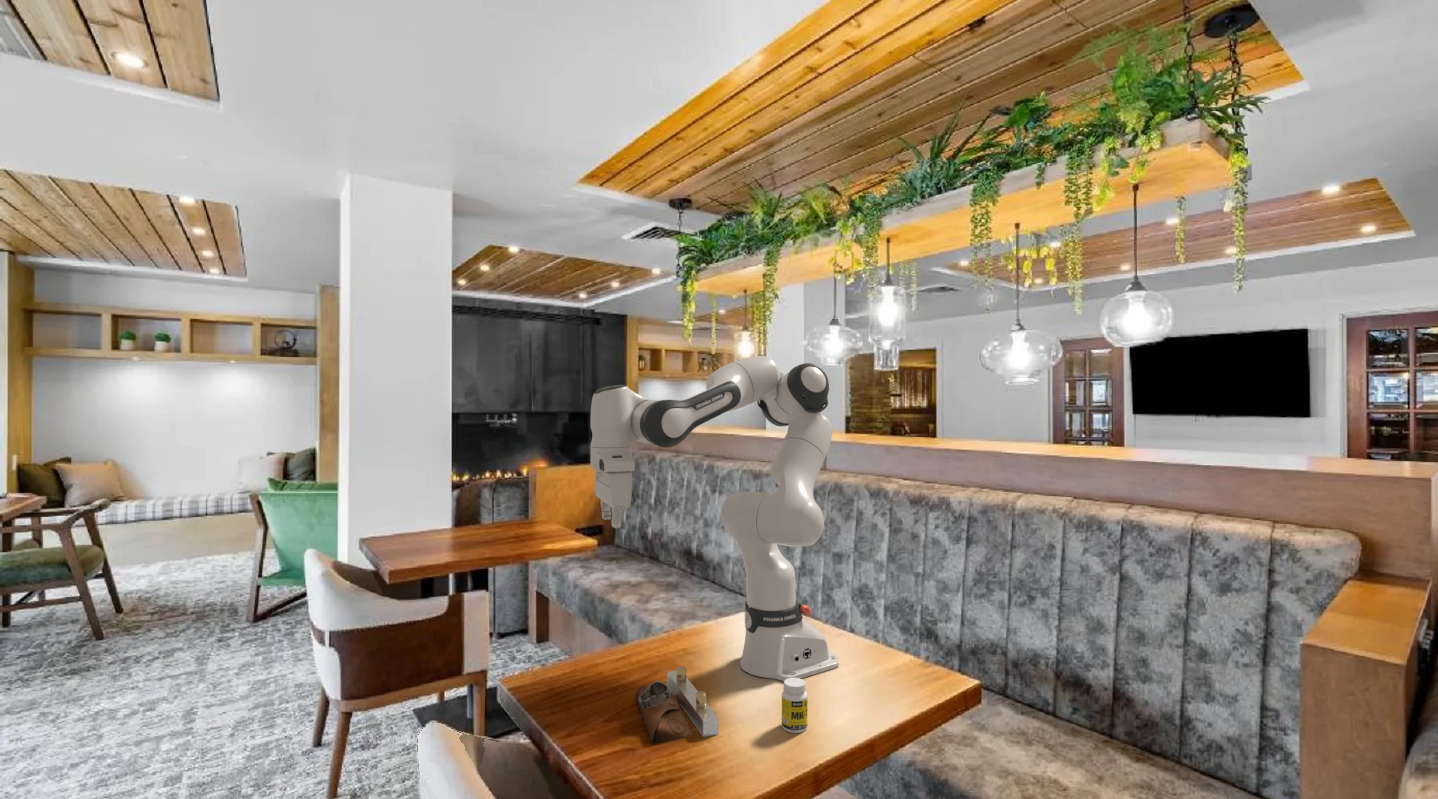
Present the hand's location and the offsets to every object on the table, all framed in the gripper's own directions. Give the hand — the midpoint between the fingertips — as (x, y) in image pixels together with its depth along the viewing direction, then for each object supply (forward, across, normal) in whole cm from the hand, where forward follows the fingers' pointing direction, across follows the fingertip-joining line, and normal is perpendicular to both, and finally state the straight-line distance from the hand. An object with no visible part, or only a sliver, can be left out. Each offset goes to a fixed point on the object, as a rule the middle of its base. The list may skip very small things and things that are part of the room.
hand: (611, 523), depth 141 cm
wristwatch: (+29, +24, +3) cm, 38 cm away
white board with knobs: (+34, +19, +11) cm, 41 cm away
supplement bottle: (+34, +33, +27) cm, 55 cm away
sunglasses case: (+35, +20, +6) cm, 41 cm away
